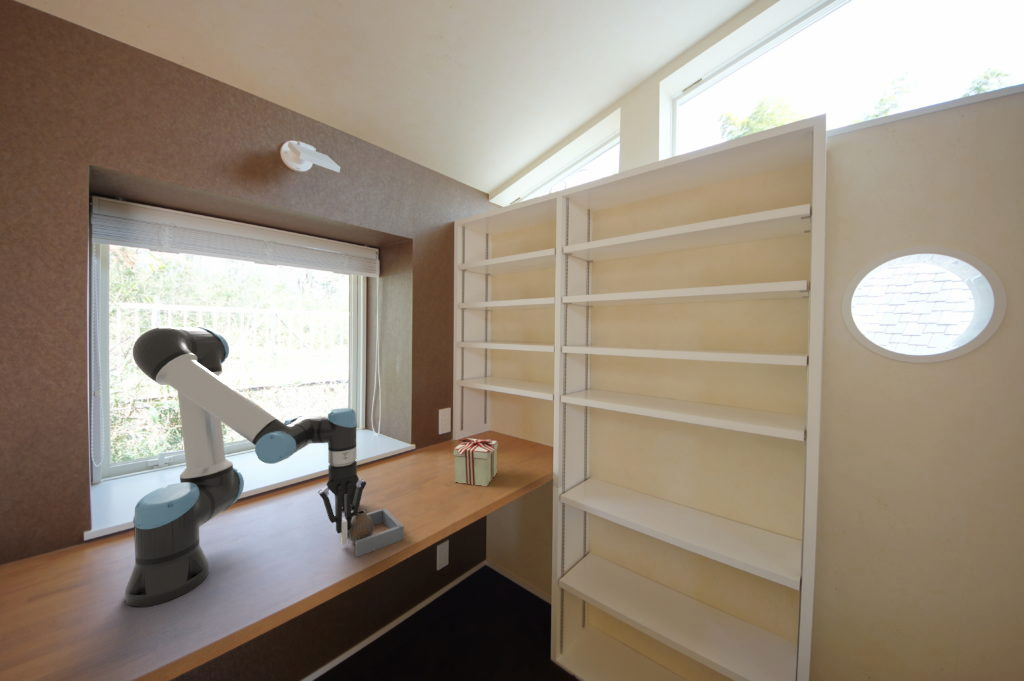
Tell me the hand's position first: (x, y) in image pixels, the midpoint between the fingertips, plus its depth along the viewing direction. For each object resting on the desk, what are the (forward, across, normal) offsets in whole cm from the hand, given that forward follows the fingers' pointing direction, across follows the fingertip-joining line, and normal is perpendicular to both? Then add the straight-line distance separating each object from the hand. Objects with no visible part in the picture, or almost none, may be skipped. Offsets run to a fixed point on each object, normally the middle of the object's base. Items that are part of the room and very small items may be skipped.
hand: (343, 541), depth 106 cm
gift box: (+2, +58, +16) cm, 60 cm away
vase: (+2, +5, 0) cm, 5 cm away
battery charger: (+2, +8, +24) cm, 26 cm away
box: (+2, +8, 0) cm, 8 cm away
